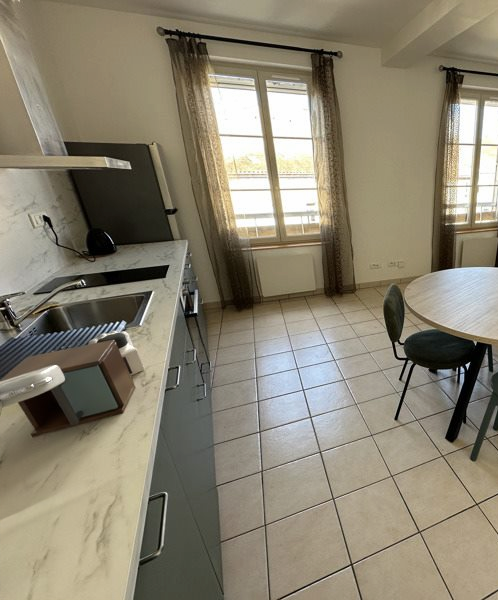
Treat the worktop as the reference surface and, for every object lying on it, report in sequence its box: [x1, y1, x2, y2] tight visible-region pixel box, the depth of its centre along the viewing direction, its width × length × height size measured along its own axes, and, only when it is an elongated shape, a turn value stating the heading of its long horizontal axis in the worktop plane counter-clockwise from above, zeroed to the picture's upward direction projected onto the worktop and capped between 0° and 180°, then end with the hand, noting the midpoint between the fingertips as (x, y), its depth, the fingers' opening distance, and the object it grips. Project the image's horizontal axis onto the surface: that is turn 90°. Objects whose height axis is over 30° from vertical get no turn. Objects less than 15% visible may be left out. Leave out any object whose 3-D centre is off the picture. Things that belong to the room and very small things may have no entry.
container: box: [97, 333, 145, 377], centre depth 100 cm, size 8×8×13 cm
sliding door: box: [51, 365, 118, 426], centre depth 79 cm, size 9×5×13 cm, turn 114°
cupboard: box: [0, 340, 137, 438], centre depth 84 cm, size 18×12×16 cm, turn 114°
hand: (4, 388), depth 61 cm, fingers open, 8 cm apart
